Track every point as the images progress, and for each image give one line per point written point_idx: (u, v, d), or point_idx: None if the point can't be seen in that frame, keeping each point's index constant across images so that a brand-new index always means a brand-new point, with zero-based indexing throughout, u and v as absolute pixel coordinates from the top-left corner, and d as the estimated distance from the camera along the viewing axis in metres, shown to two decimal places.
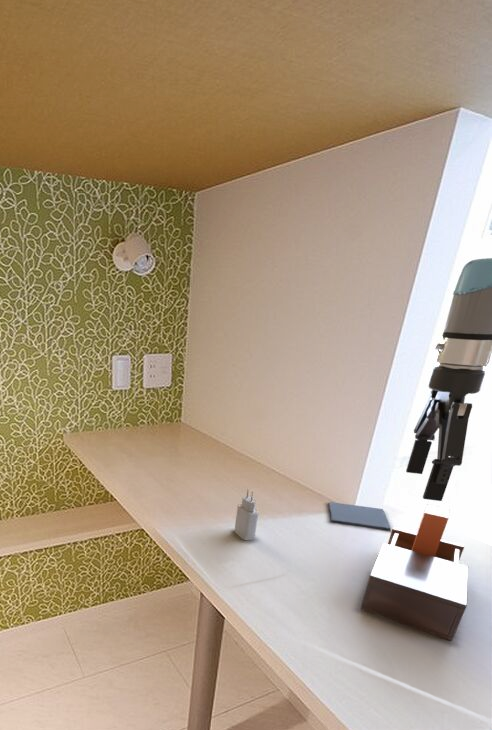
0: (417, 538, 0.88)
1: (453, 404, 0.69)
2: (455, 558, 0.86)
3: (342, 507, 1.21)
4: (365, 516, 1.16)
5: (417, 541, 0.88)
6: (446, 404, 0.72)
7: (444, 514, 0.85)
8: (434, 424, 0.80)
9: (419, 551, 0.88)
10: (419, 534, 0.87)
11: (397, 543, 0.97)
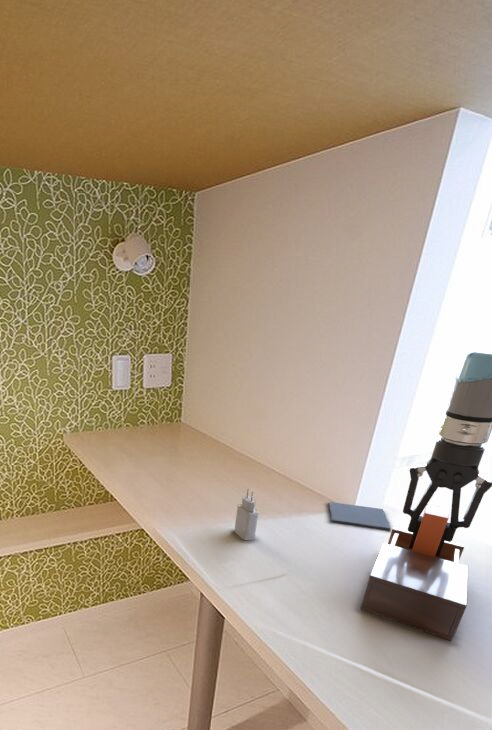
0: (417, 538, 0.88)
1: (490, 484, 0.79)
2: (455, 558, 0.86)
3: (342, 507, 1.21)
4: (365, 516, 1.16)
5: (417, 541, 0.88)
6: (469, 475, 0.80)
7: (444, 514, 0.85)
8: None
9: (419, 551, 0.88)
10: (419, 534, 0.87)
11: (397, 543, 0.97)
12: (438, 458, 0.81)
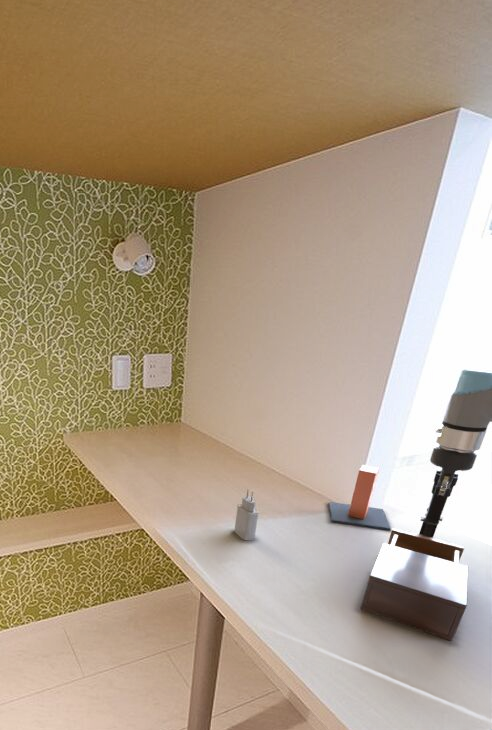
0: (355, 490, 1.13)
1: (435, 488, 0.89)
2: (455, 560, 0.86)
3: (342, 507, 1.21)
4: None
5: (355, 493, 1.13)
6: (440, 476, 0.90)
7: (374, 470, 1.10)
8: None
9: (356, 501, 1.14)
10: (356, 487, 1.13)
11: (397, 544, 0.97)
12: None
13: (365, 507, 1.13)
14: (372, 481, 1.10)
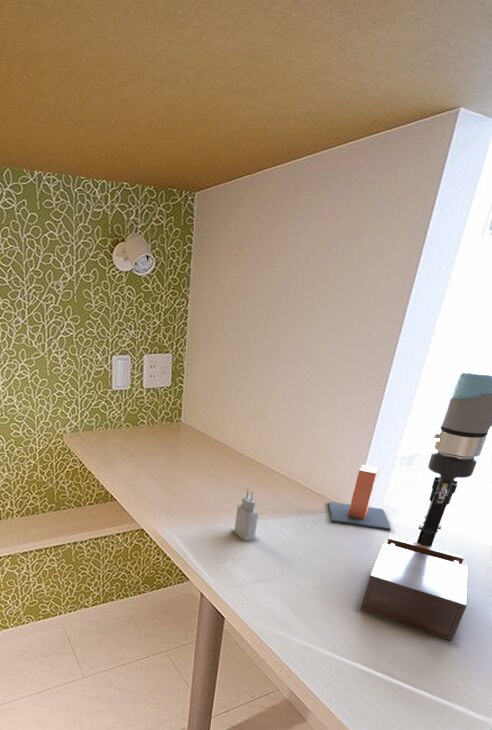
0: (355, 490, 1.13)
1: (434, 495, 0.85)
2: None
3: (342, 507, 1.21)
4: None
5: (355, 493, 1.13)
6: (438, 483, 0.87)
7: (374, 470, 1.10)
8: None
9: (356, 501, 1.14)
10: (356, 487, 1.13)
11: None
12: None
13: (365, 507, 1.13)
14: (372, 481, 1.10)
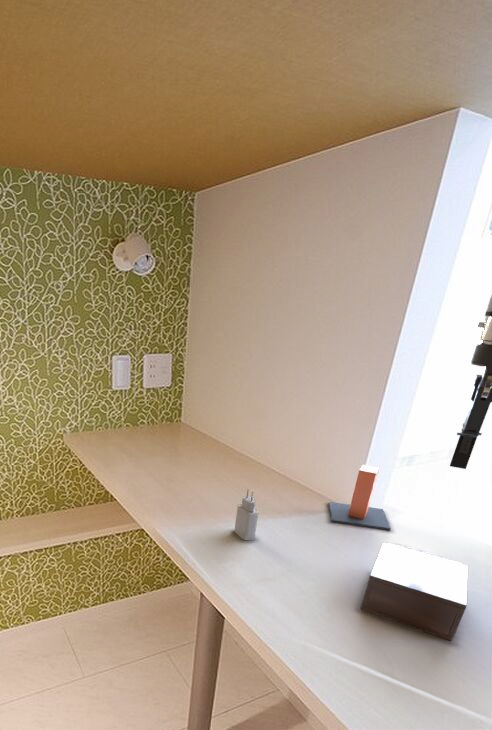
0: (355, 490, 1.13)
1: (478, 389, 0.77)
2: None
3: (342, 507, 1.21)
4: None
5: (355, 493, 1.13)
6: (482, 377, 0.79)
7: (374, 470, 1.10)
8: None
9: (356, 501, 1.14)
10: (356, 487, 1.13)
11: None
12: None
13: (365, 507, 1.13)
14: (372, 481, 1.10)
